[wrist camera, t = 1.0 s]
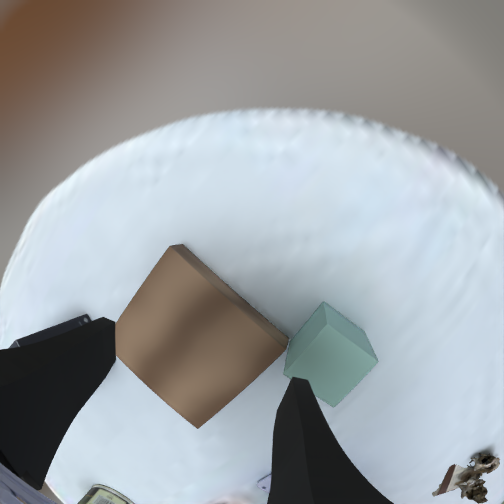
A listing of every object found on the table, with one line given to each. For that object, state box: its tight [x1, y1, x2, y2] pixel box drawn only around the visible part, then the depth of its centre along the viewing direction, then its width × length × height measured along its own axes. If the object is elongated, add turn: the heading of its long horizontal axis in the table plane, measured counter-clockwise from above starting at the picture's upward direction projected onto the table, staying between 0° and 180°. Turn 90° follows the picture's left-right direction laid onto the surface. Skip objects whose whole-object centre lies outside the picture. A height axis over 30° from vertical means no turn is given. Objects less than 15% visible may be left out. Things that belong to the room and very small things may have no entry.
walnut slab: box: [115, 244, 289, 429], centre depth 25 cm, size 12×12×2 cm
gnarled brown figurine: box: [432, 453, 500, 504], centre depth 21 cm, size 12×6×11 cm
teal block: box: [283, 301, 379, 407], centre depth 21 cm, size 4×4×6 cm
